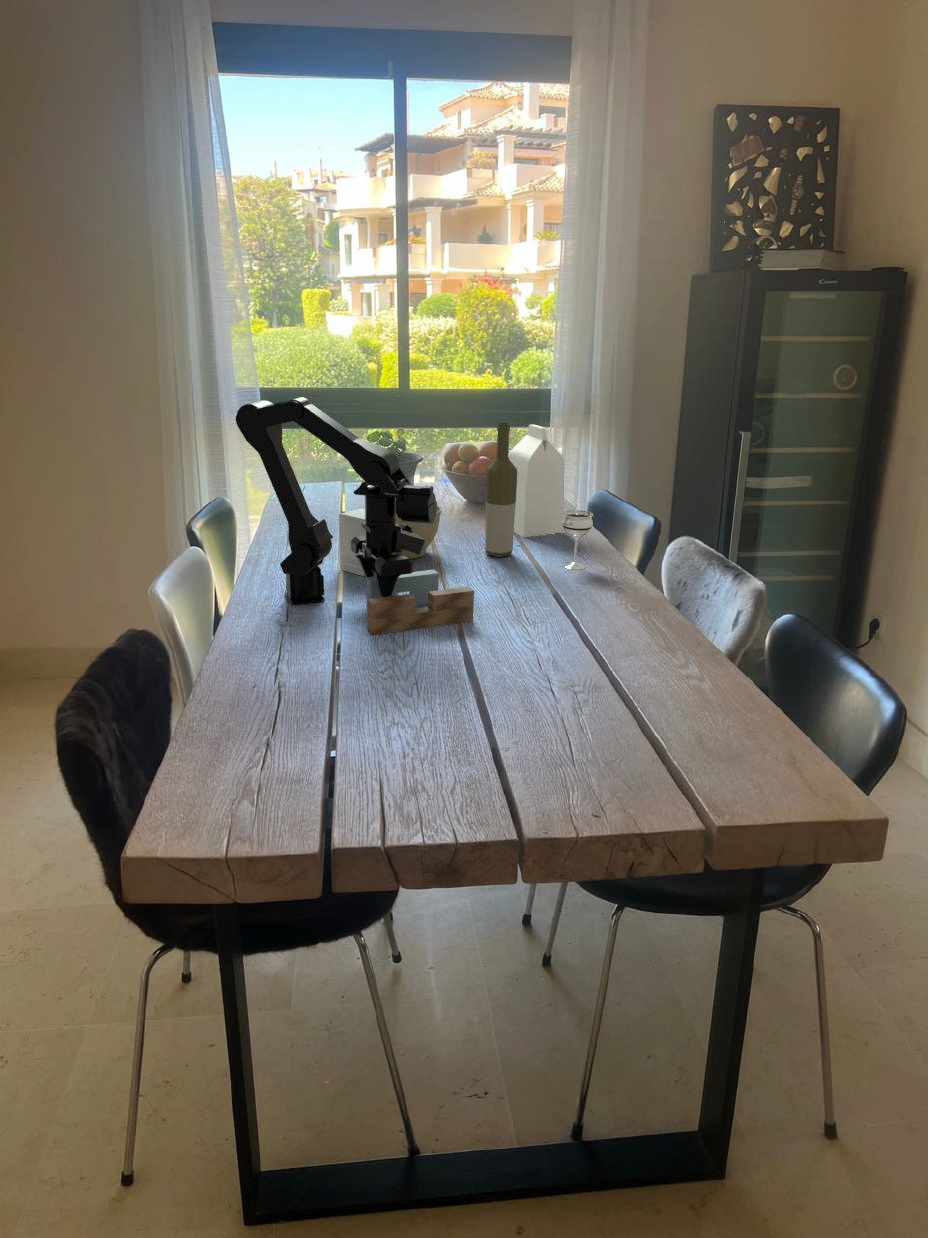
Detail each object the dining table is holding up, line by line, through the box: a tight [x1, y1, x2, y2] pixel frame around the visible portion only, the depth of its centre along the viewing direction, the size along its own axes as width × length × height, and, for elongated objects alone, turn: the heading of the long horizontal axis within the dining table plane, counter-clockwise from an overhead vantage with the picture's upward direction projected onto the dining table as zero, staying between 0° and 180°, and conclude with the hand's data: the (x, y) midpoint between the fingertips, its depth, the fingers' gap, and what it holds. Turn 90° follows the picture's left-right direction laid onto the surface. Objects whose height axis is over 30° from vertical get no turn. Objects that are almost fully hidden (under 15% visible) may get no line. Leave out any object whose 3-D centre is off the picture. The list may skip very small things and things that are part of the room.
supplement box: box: [338, 508, 366, 577], centre depth 203 cm, size 7×7×13 cm
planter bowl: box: [392, 505, 442, 560], centre depth 215 cm, size 16×16×11 cm
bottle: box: [484, 422, 518, 558], centre depth 213 cm, size 7×7×30 cm
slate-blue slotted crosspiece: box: [366, 569, 440, 606], centre depth 184 cm, size 14×2×6 cm, turn 115°
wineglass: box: [562, 509, 594, 570], centre depth 209 cm, size 7×7×12 cm
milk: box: [508, 423, 566, 538], centre depth 235 cm, size 12×12×26 cm
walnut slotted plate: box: [366, 586, 475, 636], centre depth 173 cm, size 20×2×6 cm, turn 115°
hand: (381, 597), depth 182 cm, fingers open, 6 cm apart
